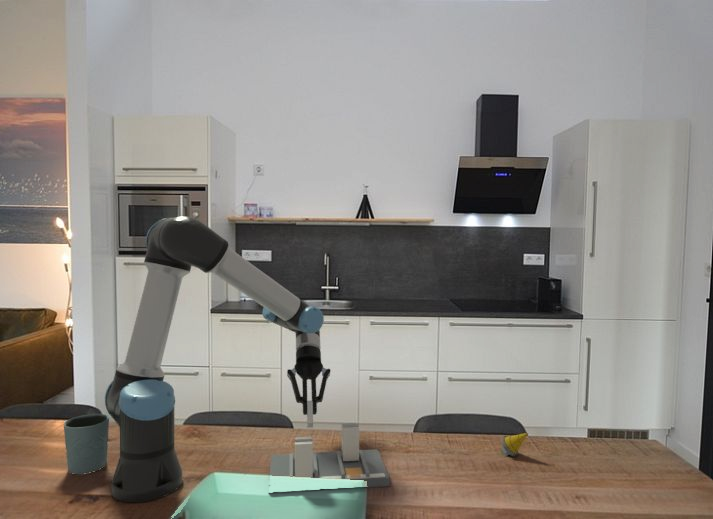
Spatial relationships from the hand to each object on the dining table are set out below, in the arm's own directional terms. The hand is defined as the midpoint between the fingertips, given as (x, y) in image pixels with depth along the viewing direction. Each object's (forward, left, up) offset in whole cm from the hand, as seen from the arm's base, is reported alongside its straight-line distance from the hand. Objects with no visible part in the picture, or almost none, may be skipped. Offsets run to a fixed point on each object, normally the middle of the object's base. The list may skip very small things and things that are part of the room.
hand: (310, 425), depth 130 cm
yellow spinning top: (+55, -7, -8) cm, 56 cm away
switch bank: (+4, -12, -8) cm, 15 cm away
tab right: (+10, -9, -5) cm, 15 cm away
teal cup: (-56, -1, -8) cm, 57 cm away
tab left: (-2, -17, -5) cm, 18 cm away
